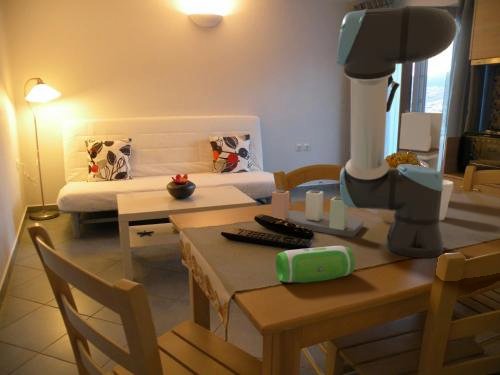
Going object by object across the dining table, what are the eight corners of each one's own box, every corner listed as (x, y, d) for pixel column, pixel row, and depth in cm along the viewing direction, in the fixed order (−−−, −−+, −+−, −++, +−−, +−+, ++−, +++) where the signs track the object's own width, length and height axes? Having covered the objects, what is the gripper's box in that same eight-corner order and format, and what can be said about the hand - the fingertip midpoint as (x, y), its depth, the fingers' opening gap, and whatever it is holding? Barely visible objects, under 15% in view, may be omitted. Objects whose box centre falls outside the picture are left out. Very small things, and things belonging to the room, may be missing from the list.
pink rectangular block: (277, 215, 138) (277, 189, 136) (289, 217, 136) (289, 190, 134) (271, 218, 135) (271, 191, 132) (284, 220, 132) (284, 193, 130)
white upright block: (309, 215, 137) (310, 189, 135) (322, 217, 135) (323, 190, 133) (305, 218, 134) (306, 191, 132) (318, 220, 132) (319, 193, 130)
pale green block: (333, 224, 128) (334, 195, 126) (347, 226, 126) (348, 197, 124) (329, 227, 125) (330, 198, 123) (343, 230, 123) (344, 200, 120)
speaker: (283, 289, 91) (284, 258, 89) (274, 275, 98) (274, 246, 96) (355, 280, 95) (356, 251, 93) (341, 268, 102) (342, 240, 100)
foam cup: (418, 219, 140) (421, 182, 137) (421, 212, 148) (424, 177, 145) (448, 223, 135) (453, 185, 132) (449, 215, 143) (453, 180, 140)
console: (281, 214, 147) (281, 208, 147) (363, 226, 133) (363, 220, 132) (265, 223, 137) (265, 217, 137) (353, 237, 123) (353, 231, 122)
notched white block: (395, 199, 166) (401, 113, 158) (407, 194, 173) (414, 112, 165) (422, 204, 158) (430, 114, 150) (434, 199, 165) (442, 113, 157)
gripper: (403, 61, 135) (398, 132, 140) (364, 63, 141) (360, 131, 146) (399, 60, 128) (393, 134, 134) (358, 62, 135) (355, 133, 140)
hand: (376, 132), depth 140 cm, fingers closed
